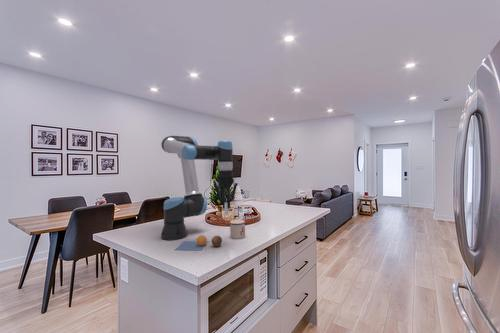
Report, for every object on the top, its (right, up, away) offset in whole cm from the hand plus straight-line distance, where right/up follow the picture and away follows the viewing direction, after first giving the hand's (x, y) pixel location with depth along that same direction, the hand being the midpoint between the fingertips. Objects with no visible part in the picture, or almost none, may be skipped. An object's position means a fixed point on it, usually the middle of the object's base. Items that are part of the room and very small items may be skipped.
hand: (226, 214), depth 124 cm
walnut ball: (-5, -14, 0) cm, 15 cm away
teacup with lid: (+5, -17, +18) cm, 25 cm away
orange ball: (-14, -14, +1) cm, 20 cm away
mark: (-19, -17, +2) cm, 25 cm away
